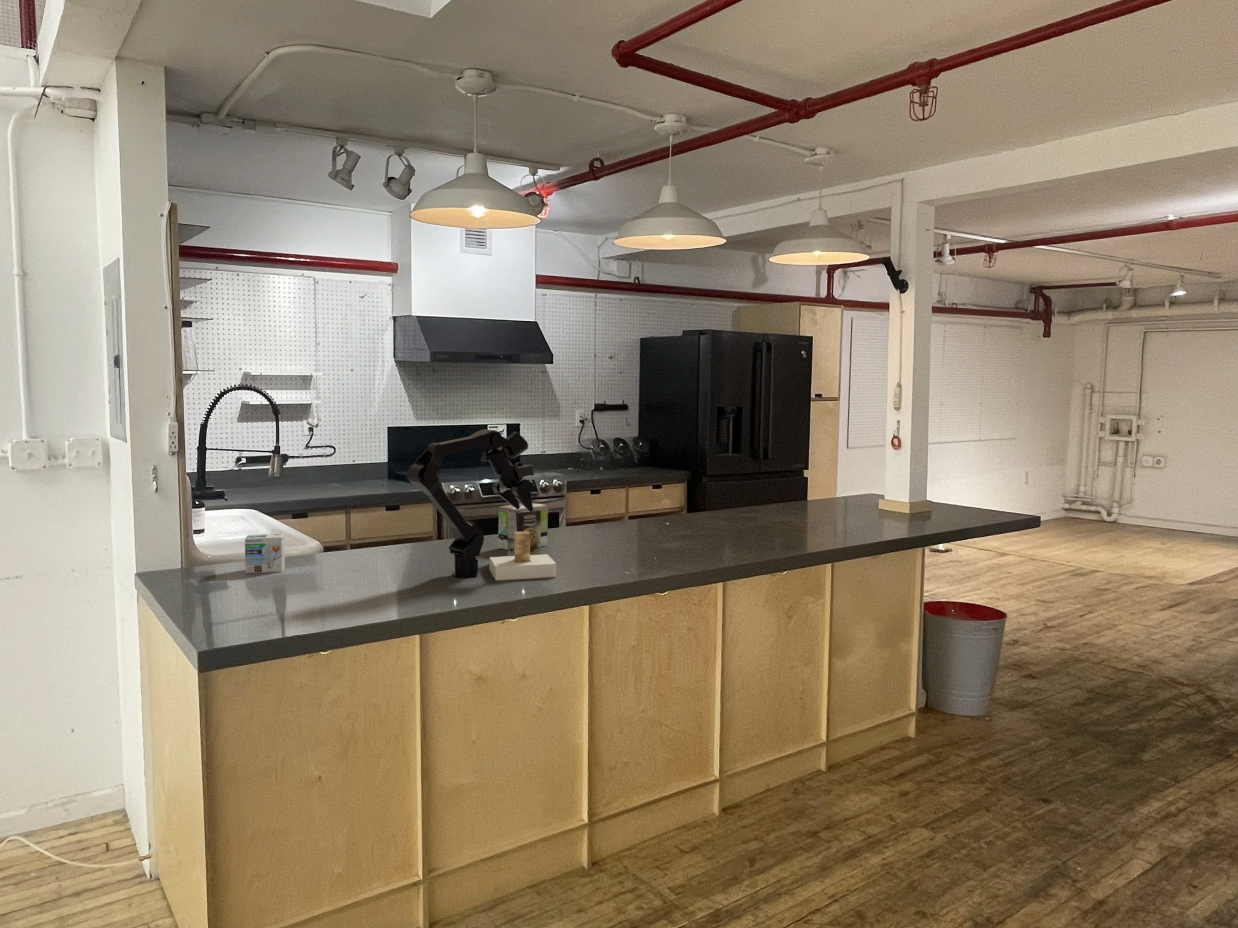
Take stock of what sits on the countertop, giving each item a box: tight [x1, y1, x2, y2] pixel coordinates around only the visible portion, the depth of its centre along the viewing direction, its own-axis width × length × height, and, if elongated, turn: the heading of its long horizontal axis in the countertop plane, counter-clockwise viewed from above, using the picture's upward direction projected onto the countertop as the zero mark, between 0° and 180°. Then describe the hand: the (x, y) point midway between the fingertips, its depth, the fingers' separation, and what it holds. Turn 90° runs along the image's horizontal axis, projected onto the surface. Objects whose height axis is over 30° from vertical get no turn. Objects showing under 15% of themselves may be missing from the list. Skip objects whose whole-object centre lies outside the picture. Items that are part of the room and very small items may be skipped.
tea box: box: [497, 502, 549, 551], centre depth 308 cm, size 15×10×15 cm, turn 143°
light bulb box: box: [244, 533, 286, 574], centre depth 269 cm, size 11×7×11 cm, turn 105°
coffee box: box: [507, 509, 542, 556], centre depth 288 cm, size 9×6×16 cm
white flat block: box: [489, 553, 557, 581], centre depth 268 cm, size 18×14×4 cm
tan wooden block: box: [515, 531, 530, 563], centre depth 267 cm, size 4×4×12 cm
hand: (525, 509), depth 276 cm, fingers open, 9 cm apart
